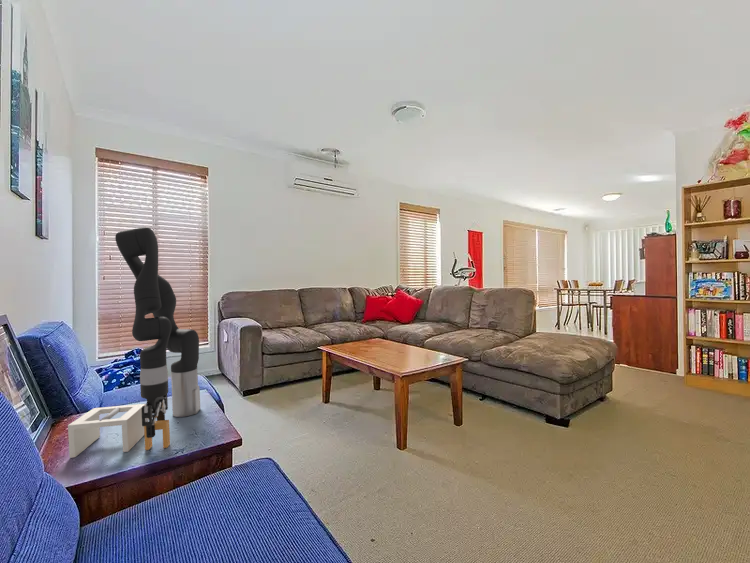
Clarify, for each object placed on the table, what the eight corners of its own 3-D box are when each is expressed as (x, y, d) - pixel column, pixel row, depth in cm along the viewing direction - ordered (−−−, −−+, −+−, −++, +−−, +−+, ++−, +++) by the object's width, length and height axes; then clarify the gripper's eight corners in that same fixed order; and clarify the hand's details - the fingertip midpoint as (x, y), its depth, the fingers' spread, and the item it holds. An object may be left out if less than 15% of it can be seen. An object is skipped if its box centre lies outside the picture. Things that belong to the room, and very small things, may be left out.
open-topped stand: (147, 431, 127) (145, 403, 127) (128, 451, 113) (126, 419, 113) (95, 437, 124) (93, 408, 123) (69, 457, 110) (67, 425, 110)
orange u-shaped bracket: (170, 444, 118) (169, 419, 117) (167, 447, 115) (166, 422, 115) (148, 446, 116) (147, 421, 116) (145, 449, 114) (144, 424, 114)
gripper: (158, 386, 109) (160, 440, 109) (175, 373, 123) (176, 421, 123) (130, 388, 107) (132, 443, 108) (150, 375, 121) (152, 423, 122)
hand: (156, 431), depth 115 cm, fingers open, 7 cm apart
